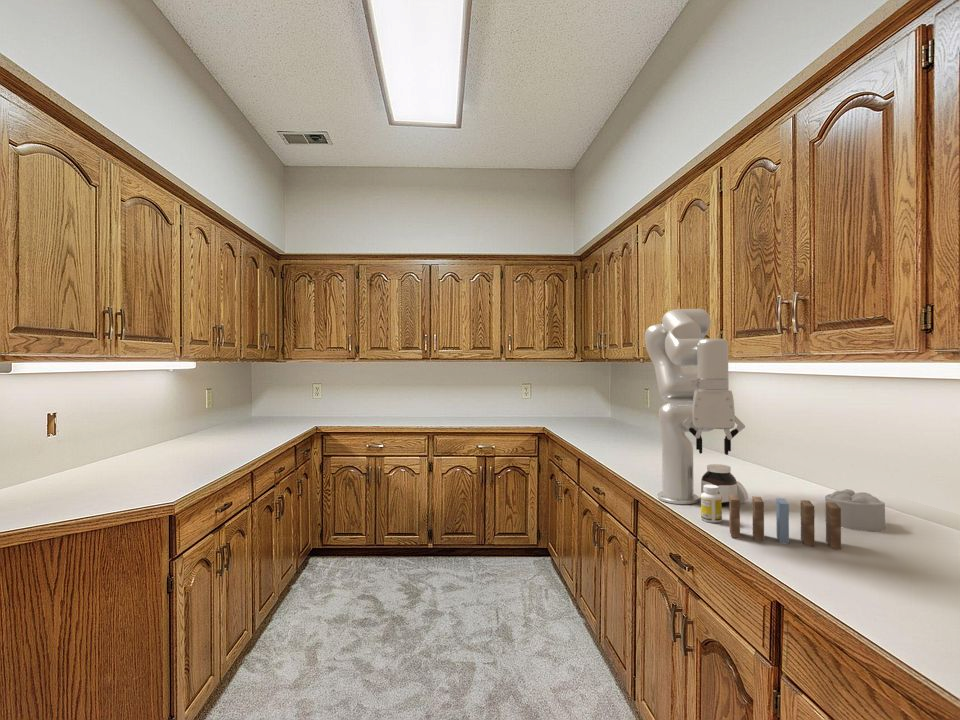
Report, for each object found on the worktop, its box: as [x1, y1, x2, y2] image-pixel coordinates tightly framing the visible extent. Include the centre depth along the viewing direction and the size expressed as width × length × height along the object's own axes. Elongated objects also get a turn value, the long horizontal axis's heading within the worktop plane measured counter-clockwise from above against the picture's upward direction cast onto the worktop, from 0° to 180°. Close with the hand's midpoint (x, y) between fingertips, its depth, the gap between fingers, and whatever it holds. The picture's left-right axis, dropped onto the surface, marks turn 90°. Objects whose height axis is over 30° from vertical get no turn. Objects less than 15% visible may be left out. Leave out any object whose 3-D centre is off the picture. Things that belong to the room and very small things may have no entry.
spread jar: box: [700, 463, 749, 507], centre depth 165 cm, size 12×11×12 cm
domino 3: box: [800, 499, 816, 548], centre depth 130 cm, size 2×5×10 cm, turn 159°
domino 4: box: [825, 502, 842, 550], centre depth 128 cm, size 2×5×10 cm, turn 159°
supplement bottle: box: [700, 485, 723, 524], centre depth 148 cm, size 5×5×10 cm
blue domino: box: [775, 497, 790, 545], centre depth 132 cm, size 2×5×10 cm, turn 158°
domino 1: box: [728, 495, 741, 539], centre depth 136 cm, size 2×5×10 cm, turn 159°
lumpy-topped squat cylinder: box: [824, 489, 886, 532], centre depth 143 cm, size 10×13×9 cm
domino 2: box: [751, 496, 765, 542], centre depth 134 cm, size 2×5×10 cm, turn 159°
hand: (713, 452), depth 137 cm, fingers open, 5 cm apart
